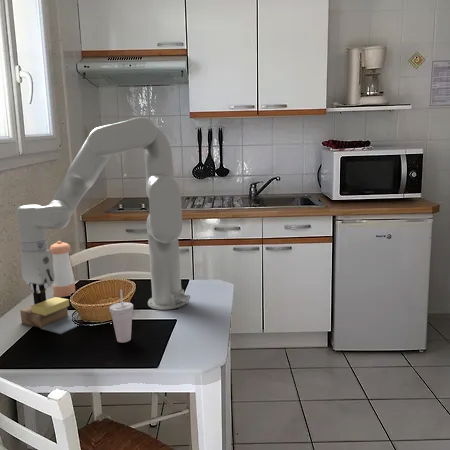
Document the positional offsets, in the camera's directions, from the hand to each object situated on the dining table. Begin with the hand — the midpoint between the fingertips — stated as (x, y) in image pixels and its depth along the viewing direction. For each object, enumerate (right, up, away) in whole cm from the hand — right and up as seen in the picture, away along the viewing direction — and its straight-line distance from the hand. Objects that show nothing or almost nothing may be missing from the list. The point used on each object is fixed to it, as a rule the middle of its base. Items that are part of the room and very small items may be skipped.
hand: (40, 304), depth 152 cm
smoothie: (+29, -7, -17) cm, 34 cm away
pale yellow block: (+4, -1, -2) cm, 5 cm away
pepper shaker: (-1, 0, +24) cm, 24 cm away
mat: (+9, -5, -5) cm, 12 cm away
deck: (+1, -5, 0) cm, 5 cm away
